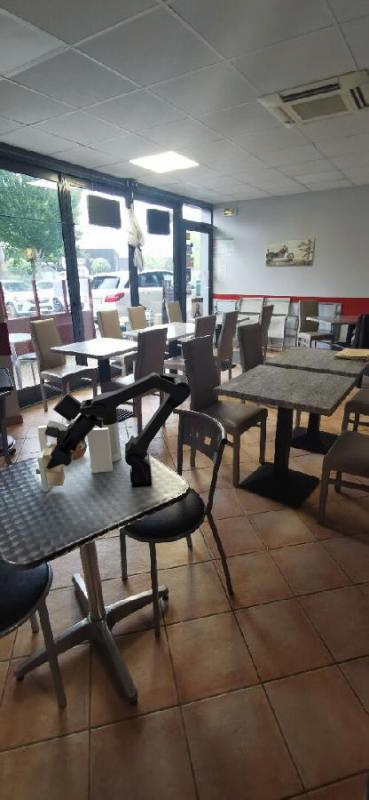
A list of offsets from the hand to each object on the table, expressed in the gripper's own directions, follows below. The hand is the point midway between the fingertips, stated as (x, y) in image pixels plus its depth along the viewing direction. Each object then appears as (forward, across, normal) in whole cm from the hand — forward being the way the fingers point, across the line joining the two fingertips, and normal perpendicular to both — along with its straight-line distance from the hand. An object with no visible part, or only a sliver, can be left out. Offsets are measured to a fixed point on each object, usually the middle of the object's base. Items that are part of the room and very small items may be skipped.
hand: (49, 464), depth 125 cm
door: (+9, -6, +5) cm, 11 cm away
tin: (+6, -22, +8) cm, 24 cm away
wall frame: (+2, -12, +12) cm, 17 cm away
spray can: (-6, -20, +20) cm, 29 cm away
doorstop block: (+4, 0, +6) cm, 7 cm away
